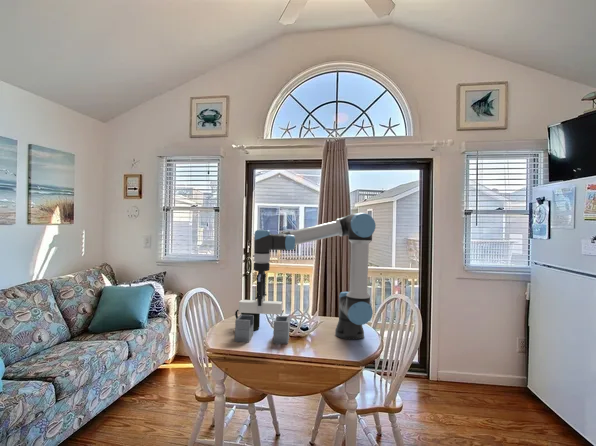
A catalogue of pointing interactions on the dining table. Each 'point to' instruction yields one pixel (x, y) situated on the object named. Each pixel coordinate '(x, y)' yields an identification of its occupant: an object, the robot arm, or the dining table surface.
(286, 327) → the brackets
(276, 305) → the rail
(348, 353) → the dining table surface
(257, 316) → the mug
